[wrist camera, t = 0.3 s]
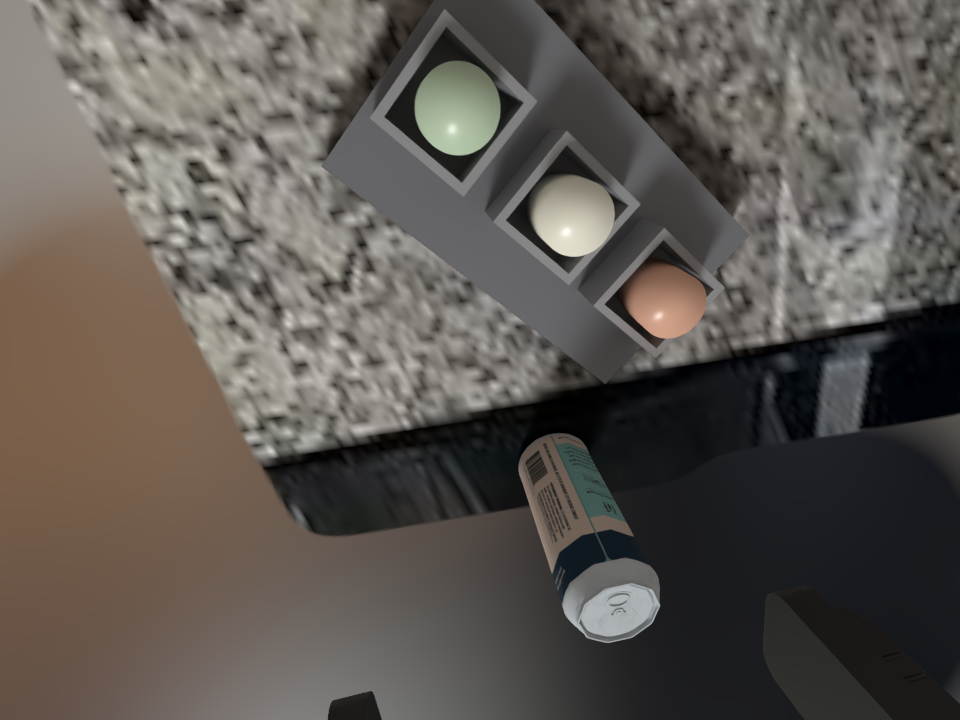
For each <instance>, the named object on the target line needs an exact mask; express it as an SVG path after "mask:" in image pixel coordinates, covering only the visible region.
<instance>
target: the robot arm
mask: <svg viewBox="0 0 960 720" xmlns="http://www.w3.org/2000/svg"><path fill="white" fill-rule="evenodd" d="M763 650H764V656H765V659H766V662H767V665H768V667H769V669H770V671H771V673H772V675H773V677H774V679H775V680H776V682H777V683H778V684H779V686H780V687H781V688H782V690H783V691H784V692H785V694H786V695H787V696H788V698H789V699H790V700H791V702H792V703H793V704H794V706H795V707H796V708H797V710H798V711H799V712H800V714H801V715H802V716H803V718H804V719H805V720H960V704H959V703H958V702H957V701H956V700H955V699H954V698H953V697H952V696H951V695H950V694H949V693H948V692H947V691H945V690H944V689H943V688H942V687H941V686H940V685H939V684H938V683H937V682H936V681H935V680H934V679H933V678H932V677H928V676H927V675H926V673H925V671H924V670H923V669H922V668H921V667H920V666H919V665H918V664H917V663H915V661H913V660H912V659H911V658H910V657H909V656H906V655H904V653H903V650H902V649H901V648H900V647H899V646H897V645H896V644H895V643H894V642H893V641H892V640H891V639H890V638H889V637H888V636H887V635H886V634H885V633H883V631H882V630H880V629H879V628H878V627H877V626H876V625H874V624H873V623H871V622H869V621H867V620H866V619H864V618H862V617H861V616H859V615H857V614H855V613H854V612H852V611H850V610H849V609H847V608H845V607H843V608H839V609H833V607H832V606H831V605H830V604H829V603H828V602H827V601H825V600H824V599H823V597H822V596H821V595H819V594H818V593H817V592H816V591H815V590H814V589H812V588H811V587H809V586H799V587H795V588H791V589H787V590H783V591H779V592H775V593H771V594H769V595H768V596H767V598H766V609H765V626H764V640H763ZM328 720H382V719H381V716H380V712H379V709H378V706H377V703H376V700H375V696H374V694H373V692H372V691H370V692H366V693H361V694H357V695H353V696H349V697H345V698H341V699H337V700H333V701H332V702H331V705H330V708H329V714H328Z"/></svg>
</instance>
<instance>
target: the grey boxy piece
mask: <svg viewBox="0 0 960 720" xmlns="http://www.w3.org/2000/svg"><path fill="white" fill-rule="evenodd" d="M450 61H465V62H468V63H471V64H474V65H476V66H477V67H479V68H481V69H482V70H483V71H484V72H485V73H486V74H487V75H488V76H489V77H490V78H491V80H492V81H493V83H494V85H495V87H496V89H497V92H498V95H499V99H500V119H499V123H498V126H497V129H496V131H495V133H494V135H493V136H492V138H491V139H490V140H489V142H488V143H487V144H486V145H485V146H483V147H482V148H481V149H479V150H477V151H475V152H473V153H470V154H467V155H451V154H447V153H444V152H442V151H440V150H438V149H437V148H435V147H434V146H433V145H432V144H431V143H429V142H428V140H427V139H426V138H425V137H424V136H423V134H422V133H421V131H420V130H419V128H418V125H417V123H416V120H415V115H414V99H415V95H416V92H417V89H418V87H419V85H420V84H421V82H422V81H423V80H424V78H425V77H426V76H427V75H428V73H430V72H431V71H432V70H433V69H434V68H436V67H437V66H439V65H441V64H443V63H446V62H450ZM321 167H323V168H324V169H325V170H327V171H328V172H329V173H331V174H332V175H333V176H335V177H336V178H337V179H338V180H340V181H341V182H342V183H344V184H345V185H346V186H348V187H349V188H350V189H351V190H353V191H354V192H355V193H357V194H358V195H359V196H361V197H362V198H363V199H365V200H366V201H367V202H368V203H370V204H371V205H372V206H374V207H375V208H376V209H378V210H379V211H380V212H381V213H383V214H384V215H385V216H387V217H388V218H389V219H391V220H392V221H393V222H394V223H396V224H397V225H398V226H400V227H401V228H402V229H404V230H405V231H406V232H408V233H409V234H410V235H411V236H413V237H414V238H415V239H417V240H418V241H419V242H421V243H422V244H423V245H424V246H426V247H427V248H428V249H430V250H431V251H432V252H434V253H435V254H436V255H438V256H439V257H440V258H441V259H443V260H444V261H445V262H447V263H448V264H449V265H451V266H452V267H453V268H454V269H456V270H457V271H458V272H460V273H461V274H462V275H464V276H465V277H466V278H467V279H469V280H470V281H471V282H473V283H474V284H475V285H477V286H478V287H479V288H481V289H482V290H483V291H484V292H486V293H487V294H488V295H490V296H491V297H492V298H494V299H495V300H496V301H497V302H499V303H500V304H501V305H503V306H504V307H505V308H507V309H508V310H509V311H511V312H512V313H513V314H514V315H516V316H517V317H518V318H520V319H521V320H522V321H524V322H525V323H526V324H527V325H529V326H530V327H531V328H533V329H534V330H535V331H537V332H538V333H539V334H540V335H542V336H543V337H544V338H546V339H547V340H548V341H550V342H551V343H552V344H554V345H555V346H556V347H557V348H559V349H560V350H561V351H563V352H564V353H565V354H567V355H568V356H569V357H570V358H572V359H573V360H574V361H576V362H577V363H578V364H580V365H581V366H582V367H584V368H585V369H586V370H587V371H589V372H590V373H591V374H593V375H594V376H595V377H597V378H598V379H599V380H600V381H602V382H603V383H604V384H606V383H607V382H608V381H609V380H610V379H611V378H612V377H613V376H614V375H615V374H616V372H617V371H618V370H619V369H620V368H621V367H622V366H623V365H624V364H625V363H626V362H627V361H628V360H629V359H630V358H631V357H632V356H633V355H634V354H635V353H636V352H637V351H638V350H639V349H640V348H641V347H643V348H644V349H645V350H646V351H648V352H649V353H650V354H651V355H652V356H653V357H655V358H656V357H657V356H658V355H659V354H660V353H661V352H662V351H663V350H664V349H665V348H666V347H667V346H668V345H669V344H670V343H671V342H672V341H673V340H674V339H675V338H676V337H675V338H668V339H665V338H659V337H656V336H654V335H652V334H651V333H649V332H648V331H647V330H646V329H645V328H644V327H643V326H642V325H640V324H639V323H638V322H637V321H636V320H635V319H634V318H633V317H632V316H630V315H629V314H628V313H627V312H626V311H625V310H624V309H623V307H622V305H621V303H620V300H619V288H620V287H621V286H622V285H623V283H624V282H625V281H626V280H627V279H628V278H629V277H630V276H631V275H632V274H633V273H634V271H635V270H636V269H637V268H638V267H639V266H640V265H641V264H642V263H643V262H644V261H645V260H646V259H649V258H659V259H663V260H665V261H667V262H669V263H670V264H672V265H674V266H676V267H677V268H679V269H681V270H683V271H684V272H686V273H688V274H690V275H691V276H693V277H695V278H696V279H698V280H699V281H700V282H701V283H702V285H703V287H704V289H705V291H706V297H707V301H706V307H707V306H708V305H709V304H710V303H711V302H712V301H713V300H714V299H715V298H716V296H717V295H718V294H719V293H720V292H721V291H722V290H723V289H724V287H723V286H722V285H721V284H720V283H719V282H718V281H717V280H716V279H715V278H714V277H713V276H712V274H713V273H714V271H715V270H716V269H717V268H718V267H719V266H720V265H721V264H722V263H723V262H724V261H725V260H726V259H727V258H728V257H729V256H730V255H731V254H732V253H733V252H734V251H735V250H736V249H737V248H738V247H739V246H740V245H741V244H742V243H743V242H744V241H745V240H746V239H747V237H748V236H749V234H748V233H747V232H746V231H745V230H744V229H743V228H742V227H741V226H740V225H739V224H738V222H737V221H736V220H735V219H734V218H733V217H732V216H731V215H730V214H729V213H728V212H727V210H726V209H725V208H724V207H723V206H722V205H721V204H720V203H719V202H718V201H717V199H716V198H715V197H714V196H713V195H712V194H711V193H710V192H709V191H708V190H707V189H706V187H705V186H704V185H703V184H702V183H701V182H700V181H699V180H698V179H697V178H696V177H695V175H694V174H693V173H692V172H691V171H690V170H689V169H688V168H687V167H686V166H685V165H684V163H683V162H682V161H681V160H680V159H679V158H678V157H677V156H676V155H675V154H674V152H673V151H672V150H671V149H670V148H669V147H668V146H667V145H666V144H665V143H664V142H663V140H662V139H661V138H660V137H659V136H658V135H657V134H656V133H655V132H654V131H653V130H652V128H651V127H650V126H649V125H648V124H647V123H646V122H645V121H644V120H643V119H642V118H641V116H640V115H639V114H638V113H637V112H636V111H635V110H634V109H633V108H632V107H631V106H630V104H629V103H628V102H627V101H626V100H625V99H624V98H623V97H622V96H621V95H620V93H619V92H618V91H617V90H616V89H615V88H614V87H613V86H612V85H611V84H610V83H609V81H608V80H607V79H606V78H605V77H604V76H603V75H602V74H601V73H600V72H599V71H598V69H597V68H596V67H595V66H594V65H593V64H592V63H591V62H590V61H589V60H588V59H587V57H586V56H585V55H584V54H583V53H582V52H581V51H580V50H579V49H578V48H577V46H576V45H575V44H574V43H573V42H572V41H571V40H570V39H569V38H568V37H567V36H566V34H565V33H564V32H563V31H562V30H561V29H560V28H559V27H558V26H557V25H556V24H555V22H554V21H553V20H552V19H551V18H550V17H549V16H548V15H547V14H546V13H545V12H544V10H543V9H542V8H541V7H540V6H539V5H538V4H537V3H536V2H535V1H534V0H433V2H432V3H431V5H430V6H429V8H428V9H427V11H426V12H425V14H424V15H423V17H422V18H421V20H420V21H419V23H418V24H417V26H416V27H415V29H414V30H413V32H412V33H411V34H410V36H409V37H408V39H407V40H406V42H405V43H404V45H403V46H402V48H401V49H400V51H399V52H398V54H397V55H396V57H395V58H394V60H393V61H392V63H391V64H390V65H389V67H388V68H387V70H386V71H385V73H384V74H383V76H382V77H381V79H380V80H379V82H378V83H377V85H376V86H375V88H374V89H373V91H372V92H371V94H370V95H369V97H368V98H367V99H366V101H365V102H364V104H363V105H362V107H361V108H360V110H359V111H358V113H357V114H356V116H355V117H354V119H353V120H352V122H351V123H350V125H349V126H348V128H347V129H346V130H345V132H344V133H343V135H342V136H341V138H340V139H339V141H338V142H337V144H336V145H335V147H334V148H333V150H332V151H331V153H330V154H329V156H328V157H327V159H326V160H325V161H324V163H323V164H322V166H321ZM557 172H568V173H572V174H575V175H578V176H580V177H583V178H586V179H588V180H591V181H593V182H596V183H598V184H599V185H601V186H602V187H603V188H604V189H605V190H606V191H607V192H608V193H609V195H610V197H611V199H612V201H613V204H614V210H615V217H614V223H613V227H612V230H611V232H610V234H609V236H608V237H607V239H606V240H605V241H604V243H603V244H602V245H601V246H600V247H598V248H597V249H596V250H594V251H593V252H591V253H589V254H586V255H583V256H578V257H570V256H565V255H562V254H559V253H558V252H556V251H555V250H553V249H552V248H551V247H550V246H549V245H548V244H547V243H546V242H544V241H543V240H542V239H541V238H540V237H539V236H538V235H537V234H536V233H535V232H534V231H533V229H532V228H531V226H530V224H529V222H528V218H527V202H528V198H529V196H530V193H531V191H532V190H533V188H534V187H535V185H536V184H537V183H538V182H539V181H540V180H542V179H543V178H545V177H546V176H548V175H550V174H553V173H557Z"/></svg>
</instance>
